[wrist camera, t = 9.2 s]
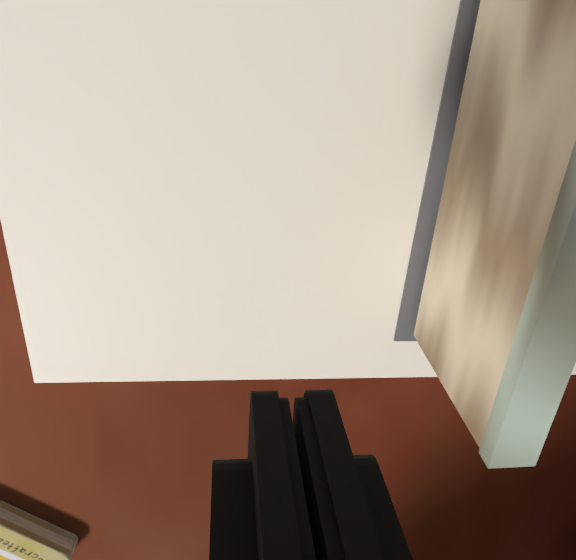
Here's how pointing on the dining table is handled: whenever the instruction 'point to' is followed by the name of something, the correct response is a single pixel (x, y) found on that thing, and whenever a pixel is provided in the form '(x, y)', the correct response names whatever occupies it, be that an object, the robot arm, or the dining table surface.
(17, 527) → the knob puzzle
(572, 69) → the fence panel
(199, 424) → the dining table surface
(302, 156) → the card
